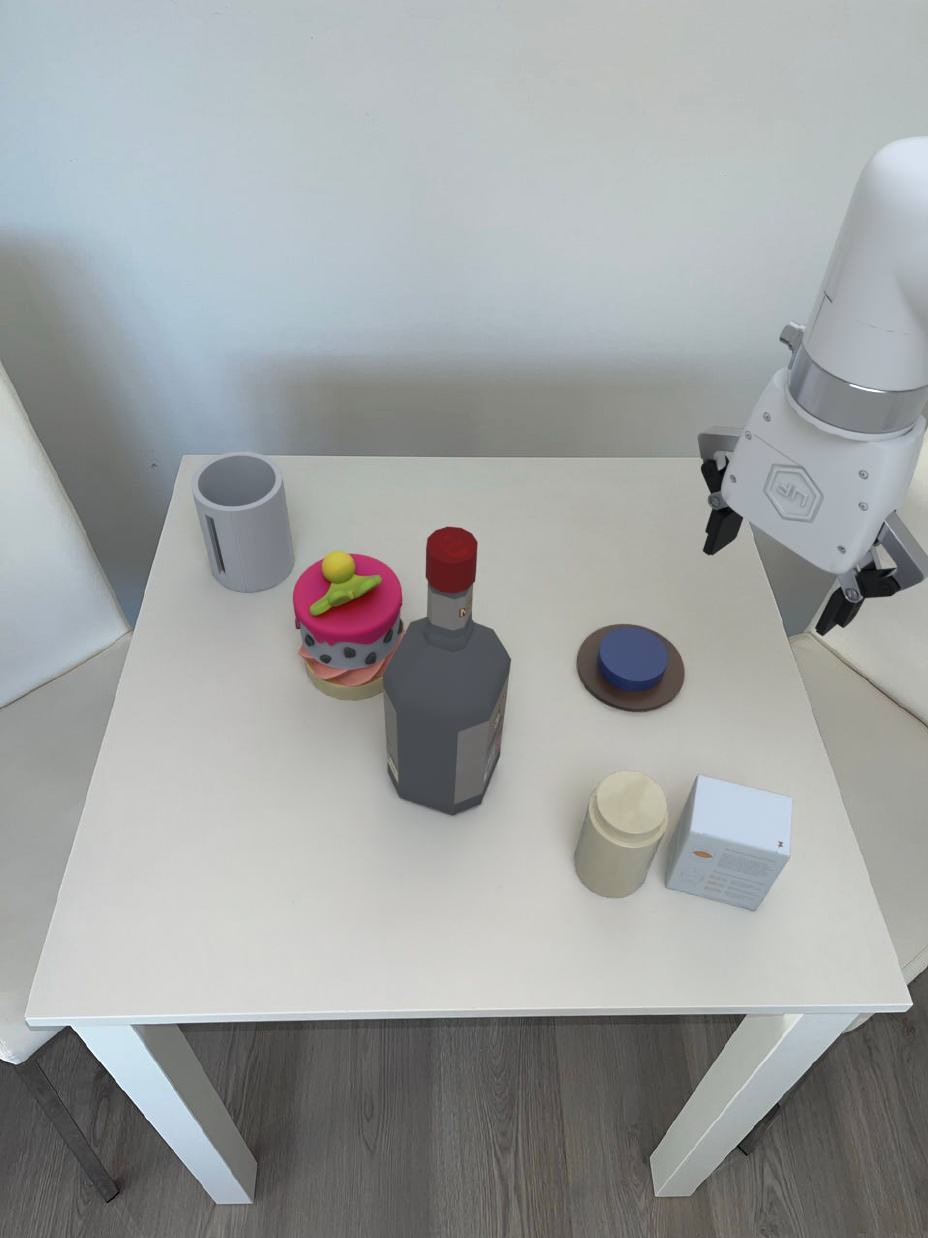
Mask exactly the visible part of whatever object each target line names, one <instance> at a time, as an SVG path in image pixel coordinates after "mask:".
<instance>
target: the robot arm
mask: <svg viewBox="0 0 928 1238" xmlns="http://www.w3.org/2000/svg"><path fill="white" fill-rule="evenodd" d="M779 342H780V343H781V344H784V345H785V346H787V347H788V350H789V351H791V358H790V361H789V363H788V365H786V366H783V367H781V368H779V369H778V370H776V371H775V373H774V374H773V376H772V377H771V379H770V381H769V382H768V383H767V385H766V387H765V389H764V390H763V392H762V393H761V394H760V397H759V399H758V400H757V402H756V404H755V406H754V408H753V410H752V412H751V414H750V415H749V418H748V419H747V421H746V423H745V425H744V427H732V426H720V425H719V426H718V425H711V426H709V427H708V428H706V429H705V430H702V431H701V432H700V433H698V434H697V443H698V449H699V455H700V459H701V460H702V464H701V465H700V472H701V474H702V477H703V479H704V481H705V482H704V483H705V484H706V486H707V488H708V491H709V493H710V494H709V495H708V496H707V503H708V504H707V505H709V506H710V508H711V511H710V514H709V518H708V521H707V523H706V527H705V530H704V532H705V533H706V535H707V536H706V538H705V541H704V545H703V548H702V552H703V553H704V554H706V555H707V556H714V555H715V554H717V553H718V552H719V551H721V550H723V549H724V548H725V547H727V546H728V545H730V544H731V543H732V542H733V541H735V540H736V539H737V537H738V534H739V532H740V529H741V526H742V524H743V521H744V520H746V521H747V522H749V523H750V524H752V525H754V527H756V528H758V529H759V530H761V531H762V532H764V533H765V534H766V535H768V536H770V537H771V538H772V539H774V540H775V541H777V542H778V543H780V544H782V545H783V546H784V547H786V548H787V549H789V550H791V551H792V552H793V553H795V554H796V555H798V556H800V557H801V558H803V559H804V560H806V561H807V562H809V563H810V564H812V565H813V566H815V567H817V568H819V569H820V570H822V571H825V572H827V573H831V574H834V575H836V576H837V579H838V581H839V587H838V588H837V589H835V590H834V591H833V592H832V593H831V595H830V596H829V599H828V600H827V603H826V605H825V607H824V608H823V610H822V613H821V615H820V617H819V618H818V621H817V623H816V624H815V626H814V629H815V633H817V634H818V635H819V636H821V637H825V636H826V635H827V633H829V632H830V631H832V629H834V628H835V627H836V626H837V625H838V626H839V627H840V628H842V629H845V628H846V627H847V626H848V625H849V624H851V623H852V621H853V620H854V619H855V618H856V616H857V615H858V613H859V611H860V610H861V607H862V605H864V602H865V600H866V599H876V598H889V597H892V596H895V594H897V593H899V592H901V591H905V590H907V589H910V588H911V587H914V586H916V585H918V584H920V583H922V582H924V581H925V580H926V579H927V578H928V554H927V552H926V551H925V550H924V548H922V546H921V545H920V543H919V542H918V541H917V539H916V537H914V535H913V534H912V533H911V531H910V530H909V529H908V527H907V526H906V525H905V523H904V522H903V521H902V519H901V518H900V516H899V513H900V510H901V508H902V506H903V503H904V501H905V499H906V496H907V493H908V491H909V488H910V486H911V483H912V480H913V477H914V474H915V471H916V469H917V466H918V462H919V458H920V454H921V450H922V446H923V443H924V439H925V433H926V428H927V419H926V417H925V416H924V415H923V414H921V413H922V411H923V409H924V407H925V405H926V403H927V401H928V135H916V136H907V137H903V138H899V139H897V140H894V141H891V142H889V143H887V144H885V145H884V146H882V147H880V148H879V149H878V150H877V151H875V152H874V153H873V154H872V156H871V157H870V158H869V159H868V160H867V162H866V163H865V164H864V166H863V167H862V169H861V171H860V174H859V176H858V178H857V181H856V184H855V185H854V188H853V192H852V194H851V197H850V200H849V203H848V205H847V208H846V211H845V214H844V217H843V220H842V223H841V226H840V229H839V231H838V234H837V237H836V240H835V243H834V245H833V249H832V251H831V254H830V257H829V260H828V263H827V265H826V269H825V271H824V274H823V277H822V280H821V283H820V285H819V289H818V291H817V293H816V296H815V300H814V302H813V304H812V308H811V310H810V314H809V316H808V318H807V322H806V324H805V323H804V324H800V323H797V322H796V321H795V320H791V321H789V322H788V323H787V324H786V325H785V326H784V327H783V329H782V331H781V333H780V334H779ZM727 453H732V454H731V456H730V459H729V457H728V456H727V455H726V454H727ZM880 545H881V546H882V547H883V548H884V550H885V551H886V553H887V554H888V555H889V557H890V558H891V560H892V561H893V562H894V564H895V566H896V567H888V568H887V567H886V568H882V564H881V561H880V558H879V554H878V551H877V548H876V547H879V546H880ZM858 567H859V569H858Z"/></svg>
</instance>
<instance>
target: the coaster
mask: <svg viewBox="0 0 928 1238" xmlns="http://www.w3.org/2000/svg"><path fill="white" fill-rule="evenodd" d="M624 627H634V628H640V629H643V630H646V631H648V632H650V633H652V634H653V635H655V636H656V637H657V638H659V639H660V640H661V641H662V643H663V644H664V646H665V647H666V650H667V653H668V663H667V666H666V669H665V673H664V676H663V678H662V680H661V681H660V682H659V683H658V684H657V685H656V686H654V687H652V688H650V689H648V690H644V691H627V690H623V689H620V688H618V687H615V686H614V685H612V684H611V683H609V682H608V681H607V680H606V679H605V678H604V677H603V676H602V674H601V673H600V671H599V668H598V665H597V657H598V653H599V648H600V644H601V642H602V640H603V638H604V637H605V636H606V635H607V634H608V633H610V632H611V631H613V630H616V629H619V628H624ZM576 670H577V674H578V676H579V679H580V681H581V683H582V684H583V686H584V688H586V690H587V692H589V693H590V694H591V695H592V696H593V697H594V698H595V699H597V700H598V701H600V702H601V703H603V704H605V705H607V706H609V707H612V708H614V709H616V710H620V711H624V712H631V713H644V712H651V711H655V710H658V709H661V708H662V707H665V706H666V705H668V704H669V703H671V702H672V701H673V700H674V699H675V698H676V697H677V696H678V695H679V693H680V691H681V689H682V687H683V684H684V680H685V672H686V670H685V664H684V660H683V658H682V656H681V654H680V651H678V650H677V648H676V646H674V644H673V643H672V642H671V641H670V640H669V639H667V638H666V637H665V636H663V635H662V634H660V633H659V632H657V631H655V630H653V629H651V628H648V627H645V626H641V625H638V624H631V623H618V624H617V623H615V624H610V625H607V626H603V627H601V628H599V629H596V630H595V631H593V632H591V634H589V635H588V636H587V637H586V638H585V639H584V640H583V642H582V643H581V645H580V647H579V650H578V654H577V658H576Z"/></svg>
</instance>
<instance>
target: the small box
mask: <svg viewBox="0 0 928 1238" xmlns="http://www.w3.org/2000/svg"><path fill="white" fill-rule="evenodd" d="M793 803H794V798H793V796H790V795H785V794H782V793H777V792H773V791H770V790H769V791H768V790H764V789H760V788H756V787H753V786H748V785H745V784H740V783H735V782H732V781H727V780H723V779H718V778H714V777H710V776H706V775H703V774H696V777H695V779H694V782H693V783H692V785H691V787H690V791H689V793H688V796H687V798H686V800H685V803H684V804H683V808H682V810H681V812H680V814H679V817H678V819H677V822H676V824H675V827H674V830H673V831H672V837H671V843H670V850H669V857H668V862H667V870H666V877H665V883H664V884H665V888H667V889H670V890H675V891H679V892H682V893H686V894H689V895H694V896H697V897H702V898H705V899H709V900H712V901H717V902H721V903H725V904H729V905H732V906H737V907H740V908H743V909H747V910H751V911H758V909H759V907H760V906H761V904H762V902H763V901H764V899H765V898H766V896H767V895H768V893H769V891H770V889H771V888H772V887H773V885H774V883H775V882H776V880H777V879H778V877H779V876H780V874H781V873H782V872H783V870H784V868H785V867H786V865H787V863H788V862H789V860H790V858H791V848H792V847H791V845H792V824H793V806H794V804H793Z"/></svg>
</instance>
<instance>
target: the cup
mask: <svg viewBox="0 0 928 1238" xmlns="http://www.w3.org/2000/svg"><path fill="white" fill-rule="evenodd" d="M190 488H191V493H192V496H193V500H194V505H195V508H196V512H197V517H198V521H199V524H200V528H201V533H202V537H203V540H204V541H203V542H204V545H205V549H206V553H207V557H208V561H209V566H210V569H211V573H212V576H213V577H214V579H215V580H216V581H217V582H218V583H219V584H220V585H221V586H223V587H225V588H227V589H229V590H232V591H235V592H240V593H257V592H263V591H266V590H270V589H271V588H274V587H276V586H278V585H280V584H281V583H282V582H283V581H285V580H286V579H287V578H288V576H289V575H290V574H291V572H292V570H293V568H294V565H295V559H296V558H295V553H294V552H295V551H294V546H293V545H294V544H293V540H292V539H293V538H292V532H291V526H290V518H289V512H288V506H287V505H288V504H287V498H286V497H287V496H286V492H285V491H286V490H285V484H284V477H283V472H282V469H281V468H280V466H279V465H278V463H276V461H275V460H273V459H272V458H270V457H268V456H266V455H264V454H260V453H258V452H253V451H244V450H243V451H238V450H237V451H231V452H226V453H222V454H219V455H216V456H214V457H212V458H209V459H207V460H206V461H204V463H202V464H201V465H200V466H199V467H198V468H197V469H196V471H195V472H194V473H193V476H192V478H191V482H190ZM220 557H221V558H222V562H223V567H224V570H225V571H224V570H223V568H222V564H221V560H220Z"/></svg>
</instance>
